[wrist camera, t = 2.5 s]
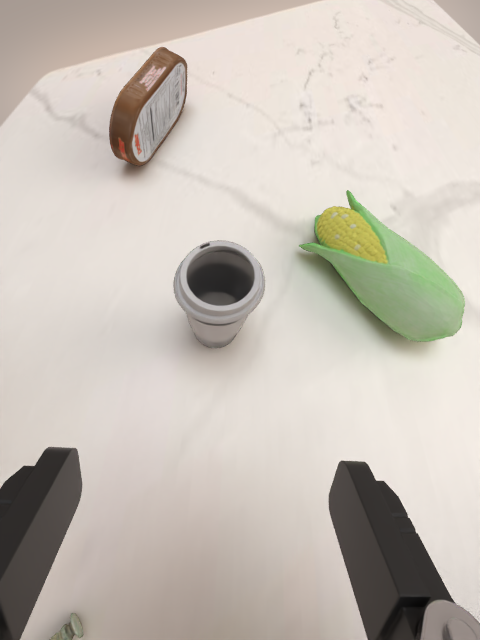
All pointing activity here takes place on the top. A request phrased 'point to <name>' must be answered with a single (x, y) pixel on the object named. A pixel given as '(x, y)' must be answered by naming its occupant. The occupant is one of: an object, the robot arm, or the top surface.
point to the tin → (148, 107)
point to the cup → (218, 290)
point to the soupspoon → (70, 630)
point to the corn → (389, 273)
